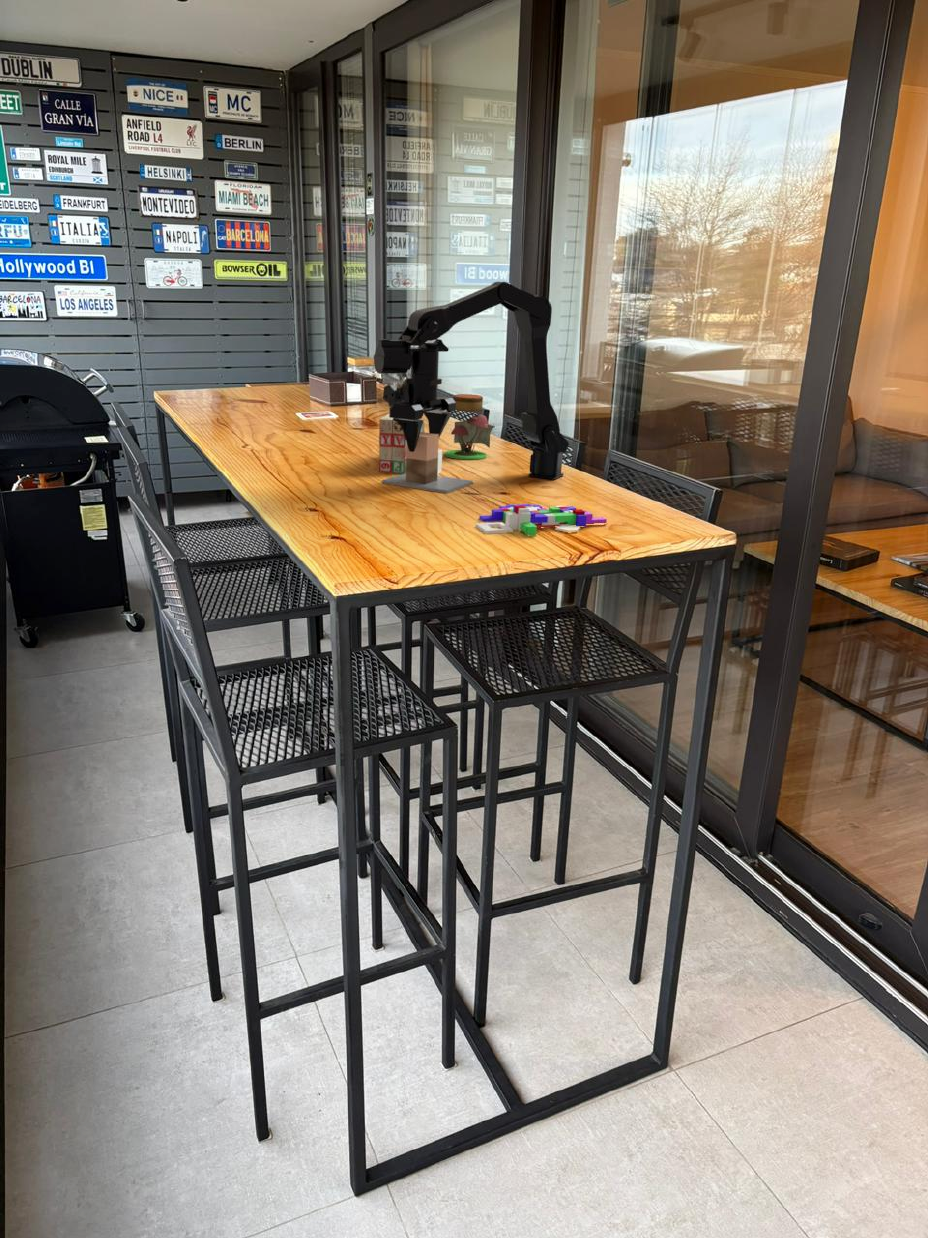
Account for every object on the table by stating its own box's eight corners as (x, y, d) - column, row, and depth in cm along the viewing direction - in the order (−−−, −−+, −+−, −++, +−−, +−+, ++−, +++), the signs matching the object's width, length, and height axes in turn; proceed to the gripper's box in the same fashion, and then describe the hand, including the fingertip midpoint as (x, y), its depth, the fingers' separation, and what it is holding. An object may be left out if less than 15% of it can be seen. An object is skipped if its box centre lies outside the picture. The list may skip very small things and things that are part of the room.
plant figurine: (484, 462, 222) (487, 400, 217) (436, 457, 226) (438, 396, 221) (498, 454, 233) (501, 395, 228) (452, 450, 237) (454, 391, 231)
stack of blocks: (400, 456, 226) (400, 406, 222) (424, 458, 225) (425, 407, 221) (378, 472, 206) (378, 417, 202) (405, 474, 205) (406, 419, 201)
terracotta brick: (437, 457, 196) (438, 434, 194) (426, 460, 191) (427, 437, 190) (417, 454, 198) (418, 431, 196) (406, 457, 193) (406, 434, 192)
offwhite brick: (441, 471, 210) (442, 449, 209) (436, 475, 206) (437, 453, 204) (420, 469, 211) (421, 448, 210) (415, 473, 207) (415, 451, 205)
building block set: (569, 507, 183) (571, 485, 182) (618, 534, 165) (621, 510, 164) (453, 512, 175) (454, 489, 174) (491, 541, 157) (492, 516, 156)
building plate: (472, 483, 199) (472, 480, 198) (447, 493, 189) (447, 490, 188) (410, 474, 205) (410, 471, 205) (381, 483, 195) (381, 480, 195)
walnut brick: (437, 480, 197) (437, 457, 196) (425, 484, 193) (426, 460, 191) (417, 477, 199) (417, 454, 198) (405, 481, 195) (406, 458, 193)
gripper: (413, 367, 199) (411, 438, 205) (367, 373, 184) (367, 450, 189) (458, 371, 195) (455, 444, 200) (414, 378, 179) (413, 456, 185)
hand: (422, 448), depth 194 cm, fingers open, 9 cm apart
